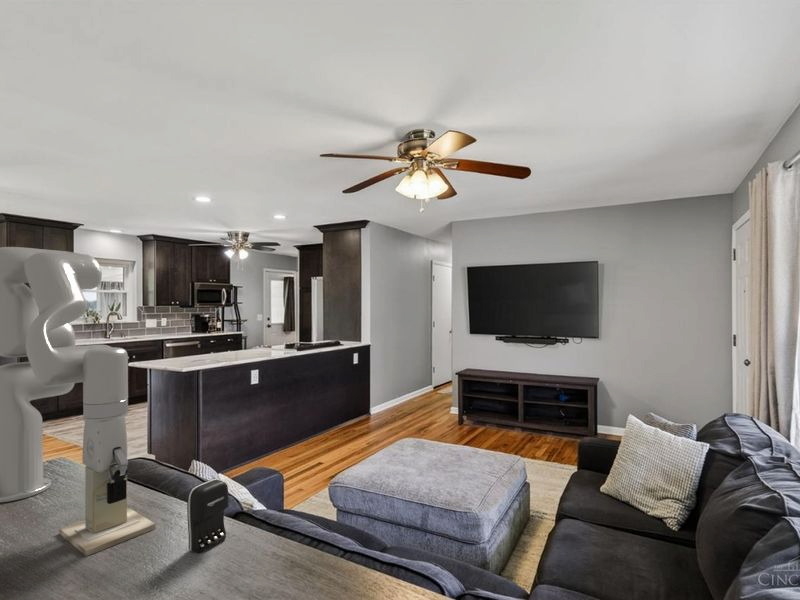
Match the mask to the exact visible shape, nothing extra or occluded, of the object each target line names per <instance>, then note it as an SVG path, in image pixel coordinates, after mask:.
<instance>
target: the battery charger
mask: <svg viewBox="0 0 800 600" xmlns="http://www.w3.org/2000/svg"><path fill="white" fill-rule="evenodd" d="M228 487H229V486H228V484H227V483H226V482H225V481H223V480H220V479H218V478H214V479H212V478H211V479H209V480H207V481H204V482H202V483H200V484H197V485H195V486H193V487H192V488H191V489H190V490H189V491H188V493H187V500H186V501H187V502H186V503H187V504H186V505H187V506H186V509H187V510H186V512H187V513H186V515H187V532H188V550H189V551H190V552H194V553H202V552H205V551H207V550H209V549H211V548H213V547H215V546H217V545H218V544H219V543H222V542H223V541H224V540H226V539H227V532H226V527H225V519H224V518H225V509H227V508H229V507H230V506H229V505H230V504H229V502H230V501H229V500H230V499H229V498H230V497H229V488H228Z"/></svg>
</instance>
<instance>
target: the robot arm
mask: <svg viewBox="0 0 800 600" xmlns="http://www.w3.org/2000/svg"><path fill="white" fill-rule="evenodd" d="M102 276H103V272H102V268H101V265H100V263H99V261H97V259H96V258H94V257H93V256H91V255H90V254H83V253H78V252H73V251H67V250H66V251H65V250H56V249H43V248H41V249H40V248H34V247H33V248H32V247H22V246H21V247H19V246H4V247H3V246H1V247H0V357H4V358H24V357H25V358H26V357H27V358H28V361H23V362H22V361H21V362H12V363H7V364H3V365H0V503H7V502H14V501H19V500H23V499H26V498H30V497H33V496H36V495H38V494H40V493H42V492H45V491H46V490H48V489H49V488H50V487H51V486H52V479H50V478H48V477H44V451H43V450H44V448H43V447H44V445H43V443H44V440H43V439H44V438H43V434H44V433H43V416H42V414H41V412H40V411H39V410H38V409H37V408H36V407H34V406H33V405H32V404H31V401H34V400H35V401H36V400H40V399H45V398H51V397H56V396H58V397H59V396H62V395H65V394H68V393H70V392H71V391H72V390H73V388H74V387H75V384H78V383H79V384H80V383H82V384H83V385H82V393H83V394H82V403H83V404H82V405H83V406H82V408H83V409H82V410H83V411H82V412H83V413H82V414H83V416H82V419H83V421H84V426H83V440H82V463H83V465H85V467H86V466H88V467H89V468H91V469H93V470H95V471H97V472H99V473H102V472H104V470H106V472H107V476H108V479H109V483H107V503H108V504H112V503H115V502H118V501H121V500H124V499H126V479H127V480H128V471H129V470H128V467H129V460H128V436H127V425H126V424H127V423H126V417H127V416H128V415H129V381H128V380H129V355H128V352H127V350H126V349H124V348H122V347H116V346H115V347H112V346H110V345H107V344H90V345H76V333H75V329H74V328H73V325H72V322H74V321H76V320H77V319H79V318H81V317H82V316H83V315H84V314H85V313H86V311H87V310H88V303H87V300H86V298H85V296H84V293H83V291H82V290H93V289H96V288H97V287H98V286H100V284H101V282H102V279H103V278H102ZM26 284H28V285H26ZM114 464H117V465H114ZM110 465H113V466H110ZM117 469H118V470H117ZM114 470H116V472H115V473H114V475H113V472H112V471H114Z"/></svg>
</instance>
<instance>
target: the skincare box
mask: <svg viewBox="0 0 800 600" xmlns="http://www.w3.org/2000/svg"><path fill="white" fill-rule="evenodd" d="M114 465H117V464H114ZM110 466H113V465H110ZM84 470H85V474H84V476H85V477H84V478H85V481H84V482H85V484H84V485H85V486H84V487H85V489H84V491H85V495H84V497H85V499H84V505H85V507H84V509H85V510H84V511H85V512H84V518H85V519H84V520H85V528H87V529H88V530H89V531H91V532H92V533H96V532H99V531H102V530H105V529H108V528H110V527H113V526H116V525H119V524H122V523H125V522H127V507H128V478H127V479H126V499H124V500H121V501H118V502H115V503H112V504H108V503H107V483H109V479H108V476H107V472H106V470H104V472H102V473H99V472H97V471H95V470H93V469H91V468H89V467H88V466H86V465H85V469H84ZM117 470H118V469H117ZM112 472H113V475H114V473H115V472H116V470H114V471H112Z"/></svg>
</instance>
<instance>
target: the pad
mask: <svg viewBox="0 0 800 600" xmlns="http://www.w3.org/2000/svg"><path fill="white" fill-rule="evenodd" d="M155 529H157V528H156V523H155V522H153V521H151V520H150V519H149V518H147V517H145V516H143V515H141V514H140V513H138V512H137V511H135V510H133V509H132V508H129V507H128V506H127V522H125V523H122V524H119V525H116V526H113V527H110V528H108V529H105V530H102V531H99V532H96V533H92V532H91V531H89V530H88V529H87V528H85V519H84V520H80V521H77V522H74V523H72V524H68V525H66V526H63V527H59V534H60V535H61V537H63V538H64V539H65V540H66V541H68V543H70V544H71V545H72V546H74V547H75V548H76V549H77V550H78V551H80V552H81V554H83V555H84V556H85V557H88V556H91V555H93V554H95V553H99V552H101V551H103V550H106V549H108V548H111V547H113V546H116V545H118V544H121V543H122V542H125V541H128V540H131V539H134V538H136V537H138V536H141V535H143V534H146V533H147V532H148V533H149V532H150V531H153V530H155Z"/></svg>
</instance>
